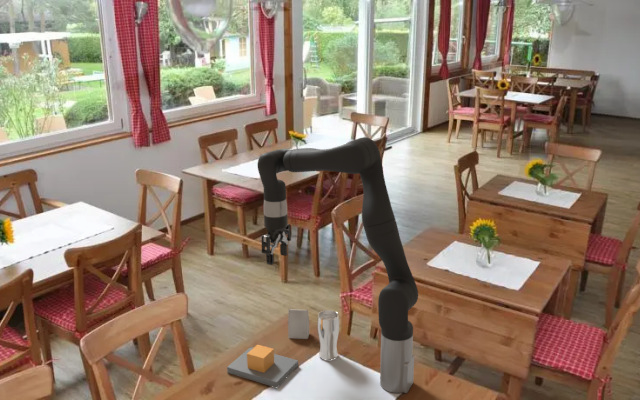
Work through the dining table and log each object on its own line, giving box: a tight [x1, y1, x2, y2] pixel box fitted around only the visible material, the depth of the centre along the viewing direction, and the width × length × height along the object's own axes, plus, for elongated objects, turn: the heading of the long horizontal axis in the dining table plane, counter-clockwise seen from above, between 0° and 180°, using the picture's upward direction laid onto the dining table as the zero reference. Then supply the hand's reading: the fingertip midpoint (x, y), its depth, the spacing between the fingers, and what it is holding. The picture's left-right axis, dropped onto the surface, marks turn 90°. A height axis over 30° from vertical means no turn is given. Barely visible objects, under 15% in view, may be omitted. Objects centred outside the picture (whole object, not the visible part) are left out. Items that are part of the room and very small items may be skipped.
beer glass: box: [316, 309, 340, 360], centre depth 190 cm, size 7×7×15 cm
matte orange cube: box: [247, 344, 275, 373], centre depth 183 cm, size 6×6×5 cm
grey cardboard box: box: [287, 308, 310, 340], centre depth 204 cm, size 4×7×10 cm, turn 83°
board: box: [226, 347, 299, 388], centre depth 185 cm, size 18×13×6 cm
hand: (277, 259), depth 193 cm, fingers open, 8 cm apart
